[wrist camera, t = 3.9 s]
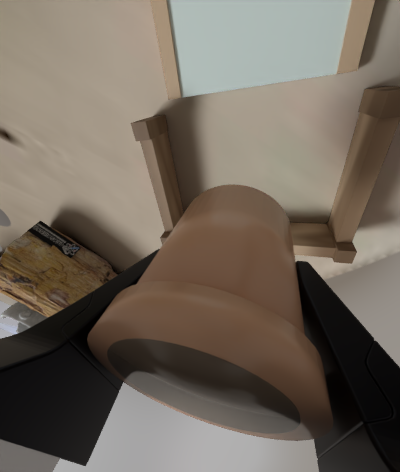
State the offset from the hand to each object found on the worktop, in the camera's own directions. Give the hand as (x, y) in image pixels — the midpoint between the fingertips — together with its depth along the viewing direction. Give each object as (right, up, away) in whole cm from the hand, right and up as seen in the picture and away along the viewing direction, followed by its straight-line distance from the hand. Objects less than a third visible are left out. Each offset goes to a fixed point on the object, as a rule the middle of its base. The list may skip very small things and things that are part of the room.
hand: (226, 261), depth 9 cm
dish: (-47, -21, +49) cm, 71 cm away
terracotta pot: (+1, +1, +2) cm, 2 cm away
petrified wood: (-19, -4, +26) cm, 32 cm away
